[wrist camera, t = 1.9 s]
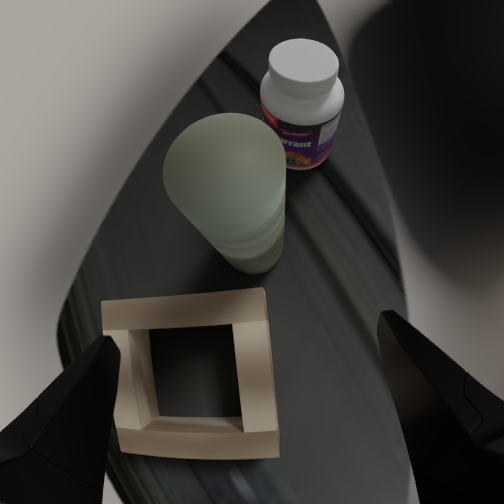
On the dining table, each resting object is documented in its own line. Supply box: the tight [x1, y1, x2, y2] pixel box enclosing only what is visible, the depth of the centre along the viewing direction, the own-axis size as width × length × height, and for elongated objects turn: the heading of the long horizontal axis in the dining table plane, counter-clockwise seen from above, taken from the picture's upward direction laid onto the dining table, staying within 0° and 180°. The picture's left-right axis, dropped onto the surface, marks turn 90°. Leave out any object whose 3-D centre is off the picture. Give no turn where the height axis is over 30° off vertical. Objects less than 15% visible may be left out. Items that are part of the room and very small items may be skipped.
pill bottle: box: [260, 39, 344, 170], centre depth 19 cm, size 5×5×10 cm
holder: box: [101, 287, 280, 459], centre depth 19 cm, size 11×11×4 cm
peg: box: [163, 113, 286, 275], centre depth 17 cm, size 4×4×12 cm
